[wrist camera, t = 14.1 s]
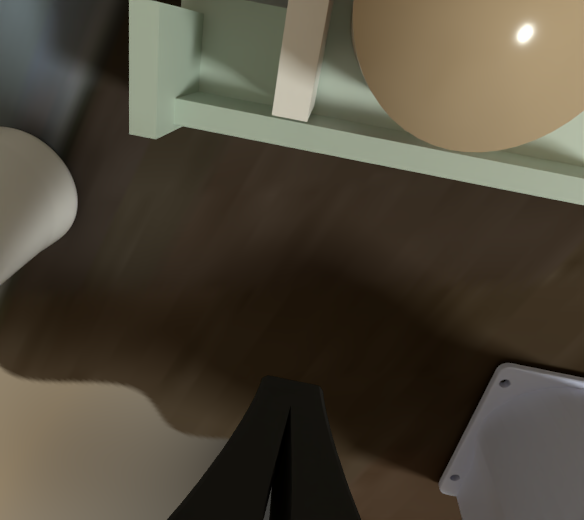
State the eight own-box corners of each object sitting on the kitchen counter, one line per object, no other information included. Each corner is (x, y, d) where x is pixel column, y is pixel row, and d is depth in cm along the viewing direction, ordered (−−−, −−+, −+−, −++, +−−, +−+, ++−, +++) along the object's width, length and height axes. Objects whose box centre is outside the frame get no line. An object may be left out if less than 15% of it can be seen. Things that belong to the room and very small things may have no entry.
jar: (464, 130, 15) (546, 187, 9) (323, 76, 15) (313, 99, 9) (555, -45, 13) (747, -119, 7) (389, -114, 12) (436, -257, 6)
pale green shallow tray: (582, 190, 17) (670, 241, 12) (184, 111, 17) (129, 134, 12) (727, -98, 13) (936, -177, 8) (201, -196, 13) (128, -325, 8)
